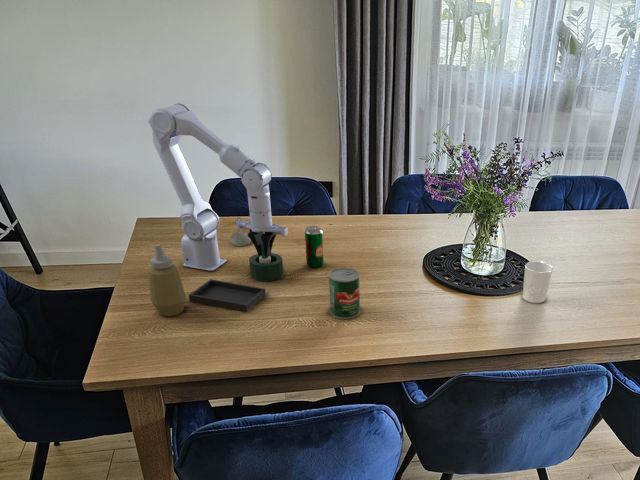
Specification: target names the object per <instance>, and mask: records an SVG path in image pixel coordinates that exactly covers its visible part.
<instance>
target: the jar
mask: <svg viewBox="0 0 640 480" xmlns="http://www.w3.org/2000/svg"><path fill="white" fill-rule="evenodd" d="M259 257H260V256H258V253H256V254H252V256H250V257H249V259H248V263H249V273H250V277H251V278H252V279H253V280H255V281H258V282H267V283H268V282H274V281H275V282H276V281H278V280H280V279H281V278H283V276H284V261H283V257H282V256H281V255H280V254H277V253H274V252H271V255H270V257H271V263H259Z"/></svg>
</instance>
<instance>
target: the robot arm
mask: <svg viewBox="0 0 640 480" xmlns="http://www.w3.org/2000/svg"><path fill="white" fill-rule="evenodd" d="M148 124H149V126H150V128H151V130H152V131H151V132H152V142H153V145H154V147H155V149H156V151H157V155H158V156H159V158H160V161H161V162H162V165H163V167H164V169H165V171H166V174H167V176H168V177H169V180H170V182H171V184H172V186H173V189H174V191H175V193H176V195H177V198H178V200H179V202H180V204H181V206H182V207H181V211H180V213H179V218H180V220H181V228H182V231H183V233H184V235H183V236H182V238H181V240H180V241H181V242H180V247H181V254H182V257H183V264H182V266H183V267H184V268H189V269H190V268H191V269H195V270H202V271H203V270H204V271H209V272H213V271H215V270H216V269H218V268H219V267H221V266H222V265H223V264H225V263H226V262H227V259H226V258H221V257H220V250H219V243H218V235H217V233H218V232H217V231H218V230H217V229H218V228H219V226H220V217H219V215H218V214H217V212H216V211H214V210H213V209H212V206H211V204H210V203H208V202H207V201H205V200H204V199H202V196H201V194H200V192H199V189H198V187H197V185H196V182H195V180H194V178H193V176H192V174H191V171H190V169H189V167H188V165H187V162H186V160H185V158H184V155H183V153H182V151H181V149H180V147H179V142H180V139H181V138H182V136H190V137H191V136H192V137H193V138H194V139H196V140H197V141H199V142H200V143H201V144H203V145H204V146H206V147H207V148H209V149H210V150H211V151H213V152H215V153H216V154H217V155H218V157H219V161H220V163H222V164H223V165H224V166H225V167H227V168H228V169H229V170H230V171H232V173H234V174H236V175H237V176H238V177H239V178H240V180H241V183H242V184H243V187H245V189H246V194H247V203H248V210H249V220H243V219H242V220H239V221H237V220H236V221H235V226H236V229H237V230H238V229H241V230H242V229H243V230H248V232H247V233H248V237H249V238H250V239H251V243H252V244H253V246H254V248H255V250H256V254H258V256H262V253H261V243H263V245H264V253H265V257H269V256H270V255H271V253H272V249H273V246H274V243H275V239H276V237H277V235H279V236H280V235H281V237H286V236H287V235H289V230H288V227H286V226H282V225H279V224H277V223H273V219H272V218H273V216H272V207H271V195H270V184H269V183H271V180H272V177H273V176H272V174H273V173H272V170H271V169H270V168H269V167H268V166H267V164H266V163H264V162H257V161H256V160H255V159H252V158H251V157H250V156H249V155H247V154H246V153H245V152H244V151H242V150H243V149H242V148H241V146H239V145H237V146H236V145H235V144H227V143H226V142H225V141H224V140H223V139H221V138H220V137H219V136H218V135H217V134H216V133H214V131H213V130H211V129H210V128H209V127H208V126H207V125H206V124H205V123H204V122H202V121H201V120H200V118H199V117H198V115H197V113H196V112H195V111H194V110H191V109H190V107H188V106H187V105H185V104H184V103H182V102H178V103H177V102H176V103H174V104H171V105H169V106H165V107H161V108H156V109H154V110H153V111H152V113H151V114H150V116H149V119H148Z"/></svg>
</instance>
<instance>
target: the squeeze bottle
mask: <svg viewBox="0 0 640 480" xmlns="http://www.w3.org/2000/svg"><path fill="white" fill-rule="evenodd" d="M149 262H150V266H149V268H148V270H147V275H148V287H149V296H150V297H149V299H150V302H151V303H152V305H153V306H154V309H156V311H157V313H158V314H159V315H161V316H163V317H164V316H165V317H172V316H177V315H179V314H181V313H182V312H184V308H185V303H186V298H187V295H186V292H185V289H184V285H183V282H182V279H181V276H180V272H179V269H178V267H177V266H176V265H175V264H173V261H172V258H171V256H169V255H166V254H165V251H164V249H163V246H162V245H161V244H160V243H157V244H155V245H154V256H153V257H151V258H150V260H149Z"/></svg>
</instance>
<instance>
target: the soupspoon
mask: <svg viewBox="0 0 640 480" xmlns="http://www.w3.org/2000/svg"><path fill="white" fill-rule="evenodd" d="M235 220H236V222H237V221H239V220H243V219H242V217H241V216H239V217H237V218H236V219H235ZM248 233H249V232H245V231H242V228H241V229H237V231H236V232H233V233H232V234H230V236H229V242H230V244H232V245H234V246H236V247H246V246H249V245H250V244H251V243H252V241H251V239H250V238H249V237H248Z"/></svg>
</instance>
